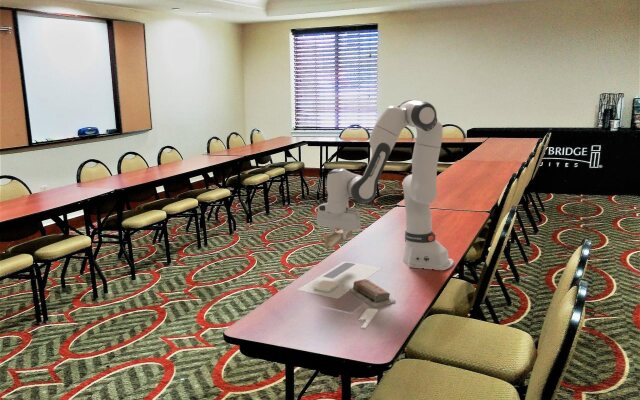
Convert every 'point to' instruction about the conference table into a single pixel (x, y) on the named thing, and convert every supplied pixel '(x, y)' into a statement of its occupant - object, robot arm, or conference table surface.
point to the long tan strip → (336, 238)
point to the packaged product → (371, 293)
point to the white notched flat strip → (368, 316)
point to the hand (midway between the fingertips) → (339, 238)
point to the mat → (341, 278)
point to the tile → (326, 286)
